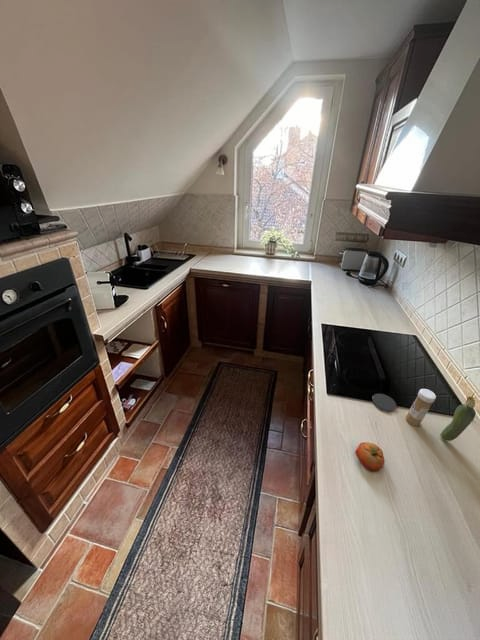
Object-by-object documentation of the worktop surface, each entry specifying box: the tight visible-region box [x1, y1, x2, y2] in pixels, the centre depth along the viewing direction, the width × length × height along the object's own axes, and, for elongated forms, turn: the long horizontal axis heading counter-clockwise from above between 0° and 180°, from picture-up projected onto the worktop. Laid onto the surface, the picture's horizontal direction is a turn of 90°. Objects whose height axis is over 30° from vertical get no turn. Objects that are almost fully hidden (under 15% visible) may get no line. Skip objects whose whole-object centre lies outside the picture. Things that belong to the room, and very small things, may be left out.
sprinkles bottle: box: [405, 388, 437, 427], centre depth 85 cm, size 5×5×13 cm
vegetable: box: [439, 395, 477, 442], centre depth 76 cm, size 4×4×20 cm
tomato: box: [354, 442, 386, 473], centre depth 75 cm, size 8×7×7 cm
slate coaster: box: [371, 393, 397, 413], centre depth 94 cm, size 8×8×1 cm
